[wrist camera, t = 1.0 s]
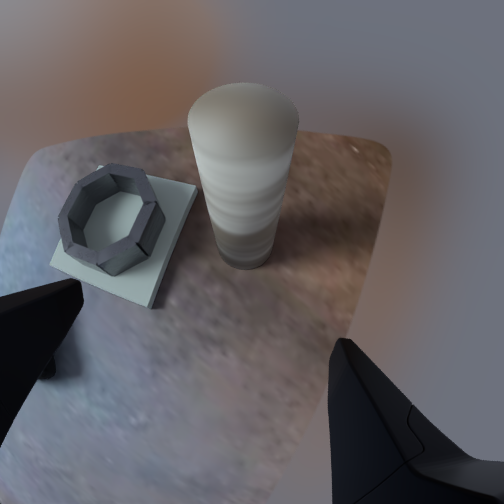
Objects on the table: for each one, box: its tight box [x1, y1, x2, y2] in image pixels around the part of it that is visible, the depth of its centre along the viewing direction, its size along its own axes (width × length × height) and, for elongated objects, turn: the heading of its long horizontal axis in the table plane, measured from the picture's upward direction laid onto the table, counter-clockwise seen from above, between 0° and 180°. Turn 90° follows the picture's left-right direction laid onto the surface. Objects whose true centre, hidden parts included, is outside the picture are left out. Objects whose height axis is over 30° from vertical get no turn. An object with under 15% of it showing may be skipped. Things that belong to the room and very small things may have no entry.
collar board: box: [50, 165, 198, 309], centre depth 24 cm, size 11×11×1 cm
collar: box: [58, 163, 166, 277], centre depth 22 cm, size 8×8×3 cm
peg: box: [188, 83, 299, 270], centre depth 17 cm, size 4×4×14 cm
